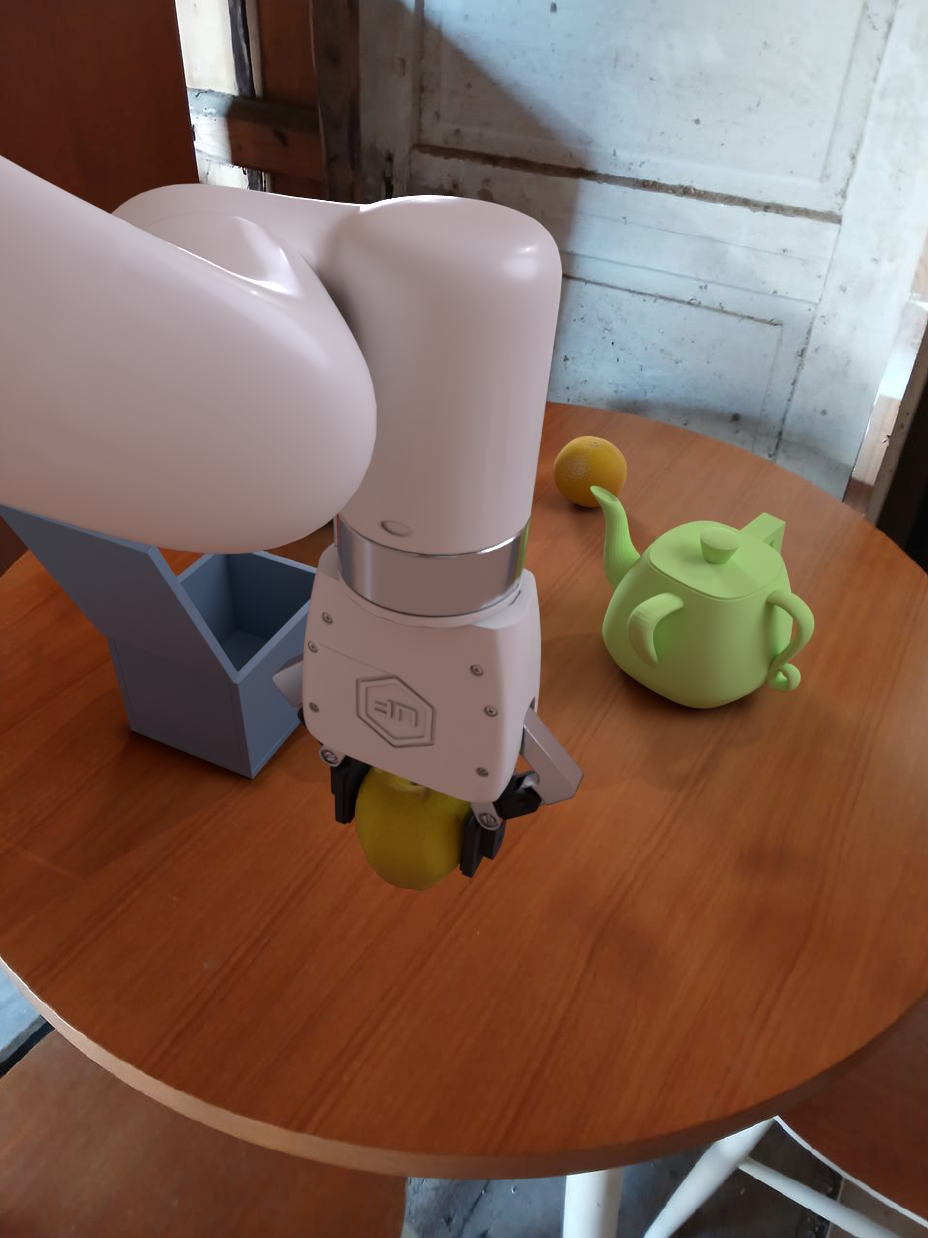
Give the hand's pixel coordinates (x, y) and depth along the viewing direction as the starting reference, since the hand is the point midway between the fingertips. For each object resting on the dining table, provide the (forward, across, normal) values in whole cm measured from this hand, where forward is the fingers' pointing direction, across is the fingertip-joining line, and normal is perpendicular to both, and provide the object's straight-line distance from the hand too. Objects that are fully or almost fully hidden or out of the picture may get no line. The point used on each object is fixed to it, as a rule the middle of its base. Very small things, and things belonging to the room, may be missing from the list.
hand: (415, 827), depth 47 cm
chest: (+20, -27, +21) cm, 40 cm away
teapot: (+19, +7, +46) cm, 50 cm away
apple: (+3, 0, 0) cm, 3 cm away
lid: (+1, -28, +10) cm, 29 cm away
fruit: (+19, -10, +69) cm, 72 cm away
